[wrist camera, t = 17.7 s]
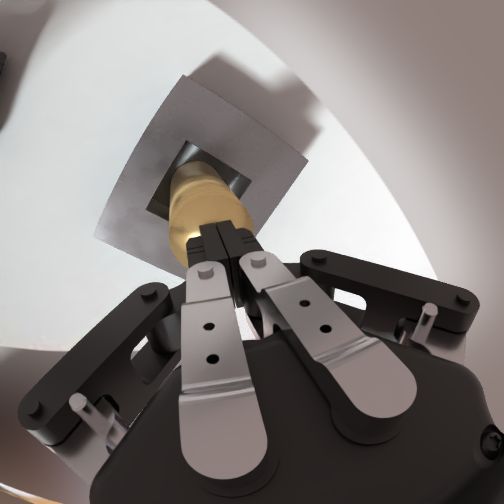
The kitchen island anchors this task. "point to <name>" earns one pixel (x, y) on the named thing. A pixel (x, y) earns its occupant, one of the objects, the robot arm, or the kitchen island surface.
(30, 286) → the kitchen island surface
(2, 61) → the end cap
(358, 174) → the kitchen island surface
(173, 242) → the gold cylinder
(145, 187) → the jig
